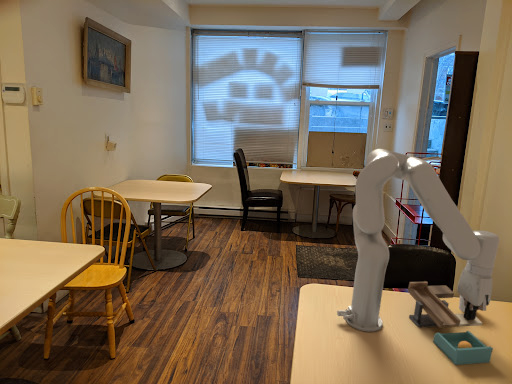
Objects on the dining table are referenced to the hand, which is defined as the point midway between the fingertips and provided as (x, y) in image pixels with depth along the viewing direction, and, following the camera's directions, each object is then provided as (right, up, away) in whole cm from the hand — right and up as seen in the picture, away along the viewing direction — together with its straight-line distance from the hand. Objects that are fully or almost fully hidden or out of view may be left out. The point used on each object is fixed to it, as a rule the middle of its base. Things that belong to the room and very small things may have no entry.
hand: (469, 318), depth 125 cm
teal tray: (-8, -8, -8) cm, 14 cm away
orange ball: (-7, -6, -11) cm, 14 cm away
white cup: (+9, -2, +16) cm, 19 cm away
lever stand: (-10, -4, +7) cm, 13 cm away
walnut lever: (-6, +2, +7) cm, 9 cm away
